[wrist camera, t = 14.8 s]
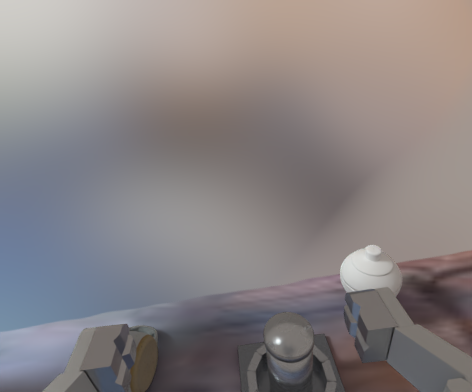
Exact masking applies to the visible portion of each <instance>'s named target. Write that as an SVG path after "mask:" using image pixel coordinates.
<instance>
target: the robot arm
mask: <svg viewBox="0 0 472 392" xmlns="http://www.w3.org/2000/svg"><path fill="white" fill-rule="evenodd" d="M345 301H346V303H347V305H346V306H345V307H344V319H345V323H346V327H347V329H348V332H349V334H350V335H352V336H353V337H354V338H355V347H356V350H357V352H358V354H359V356H360V359H361V361H362V363H367V362H376V361H385V360H387V362H388V363H389V364H390V365H391V366H392V367H393V368H394V369H395V370H397V371H398V372H399V373H400V374H401V375H402V376H403V377H404V378H406V379H407V380H408V381H409V382H410V383H411V384H412V385H413V386H415V387H416V388H417V389H418V390H419V391H420V392H472V357H470V356H469V355H467V354H466V353H464V352H462V351H461V350H459V349H458V348H456V347H454V346H453V345H451V344H450V343H448V342H446V341H445V340H443V339H442V338H440V337H438V336H437V335H435V334H433V333H432V332H430V331H429V330H427V329H425V328H424V327H422V326H421V325H419V324H418V325H414V323H413V322H412V320H411V319H410V317H409V316H408V314H407V313H406V311H405V310H404V308H403V307H402V305H401V304H400V302H399V301H398V299H397V298H396V297H395V295H394V294H393V292H392V291H391V289H390V288H388V287H383V288H376V289H367V290H361V291H354V292H348V293H346V295H345ZM129 331H130V329H129V327H128V325H127V324H120V325H111V326H102V327H93V328H86V329H84V330H83V331H82V332H81V333H80V336H79V338H78V340H77V343H76V345H75V348H74V350H73V352H72V355H71V357H70V360H69V362H68V364H67V367H66V369H65V372H64V374H59V375H58V376H57V377H56V378H55V379H54V380H53V381H52V382H51V383H50V384H49V385H48V386H47V387H46V388H45V389H44V390H43V391H42V392H128V391H129V387H130V382H131V378H132V376H131V374H130V372H129V370H130V369H131V367H132V366H133V365H134V364H135V359H136V343H135V340H134V337H133V336H131V335H129Z"/></svg>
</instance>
